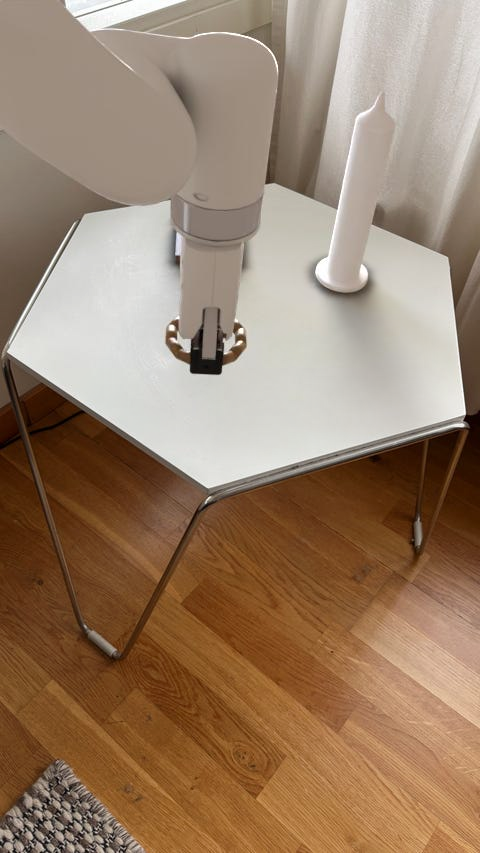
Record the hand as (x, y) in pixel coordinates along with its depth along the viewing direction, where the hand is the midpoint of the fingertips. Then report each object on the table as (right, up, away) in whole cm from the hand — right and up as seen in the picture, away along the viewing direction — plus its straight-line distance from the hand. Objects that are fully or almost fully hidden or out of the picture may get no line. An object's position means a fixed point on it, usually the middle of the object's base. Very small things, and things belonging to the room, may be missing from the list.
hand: (205, 363), depth 72 cm
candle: (+17, +14, +24) cm, 33 cm away
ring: (0, +3, +2) cm, 3 cm away
